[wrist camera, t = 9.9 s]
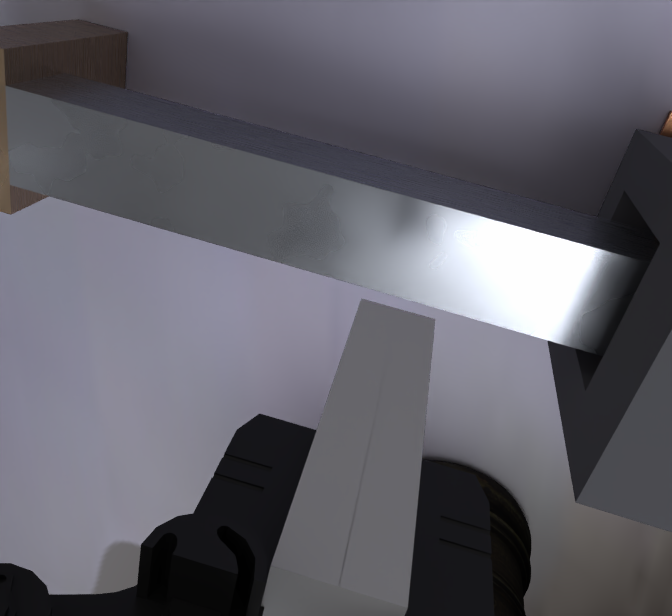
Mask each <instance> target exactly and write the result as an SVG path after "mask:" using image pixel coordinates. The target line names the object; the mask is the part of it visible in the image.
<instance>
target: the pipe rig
mask: <svg viewBox="0 0 672 616" xmlns="http://www.w3.org/2000/svg"><path fill="white" fill-rule="evenodd" d="M127 35H128V32H124V31H120V30H117V29H113V28H109V27H105V26H101V25H98V24H94V23H90V22H86V21H82V20H79V19H78V20H66V21H55V22H43V23H32V24H20V25H8V26H0V212H4V213H7V214H13V213H15V212H18V211H20V210H22V209H24V208H26V207H28V206H30V205H32V204H34V203H36V202H38V201H40V200H42V199H44V198H46V197H48V196H50V197H54V198H57V199H61V200H64V201H68V202H71V203H74V204H78V205H81V206H85V207H88V208H92V209H95V210H99V211H102V212H106V213H109V214H112V215H116V216H119V217H123V218H126V219H130V220H133V221H137V222H140V223H144V224H147V225H151V226H154V227H157V228H161V229H164V230H168V231H171V232H175V233H178V234H182V235H185V236H189V237H192V238H196V239H199V240H202V241H206V242H209V243H213V244H216V245H220V246H223V247H227V248H230V249H234V250H237V251H241V252H244V253H247V254H251V255H254V256H258V257H261V258H265V259H268V260H272V261H275V262H279V263H282V264H285V265H289V266H292V267H296V268H299V269H303V270H306V271H310V272H313V273H317V274H320V275H324V276H327V277H330V278H334V279H337V280H341V281H344V282H348V283H351V284H355V285H358V286H362V287H365V288H369V289H372V290H375V291H379V292H382V293H386V294H389V295H393V296H396V297H400V298H403V299H407V300H410V301H413V302H417V303H420V304H424V305H427V306H431V307H434V308H438V309H441V310H445V311H448V312H452V313H455V314H458V315H462V316H465V317H469V318H472V319H476V320H479V321H483V322H486V323H490V324H493V325H497V326H500V327H503V328H507V329H510V330H514V331H517V332H521V333H524V334H528V335H531V336H535V337H538V338H542V339H545V340H548V341H552V342H555V343H559V344H562V345H566V346H569V347H573V348H576V349H580V350H583V351H586V352H590V353H593V354H597V355H600V356H604V354H605V352H606V350H607V348H608V346H609V344H610V342H611V340H612V338H613V336H614V334H615V332H616V330H617V328H618V326H619V324H620V322H621V320H622V318H623V316H624V314H625V312H626V310H627V308H628V306H629V304H630V302H631V300H632V298H633V296H634V294H635V292H636V290H637V288H638V286H639V284H640V282H641V280H642V278H643V276H644V274H645V272H646V270H647V268H648V266H649V265H650V263H651V261H652V259H653V257H654V255H655V253H656V251H657V249H658V247H659V245H660V242H659V241H658V239H657V238H656V236H655V235H654V234H653V232H651V231H648V230H644V229H640V228H637V227H633V226H629V225H626V224H622V223H618V222H614V221H611V220H607V219H603V218H600V217H596V216H592V215H589V214H585V213H581V212H578V211H574V210H570V209H566V208H563V207H559V206H555V205H552V204H548V203H544V202H541V201H537V200H533V199H530V198H526V197H522V196H518V195H515V194H511V193H507V192H504V191H500V190H496V189H493V188H489V187H485V186H482V185H478V184H474V183H470V182H467V181H463V180H459V179H456V178H452V177H448V176H445V175H441V174H437V173H434V172H430V171H426V170H422V169H419V168H415V167H411V166H408V165H404V164H400V163H397V162H393V161H389V160H386V159H382V158H378V157H375V156H371V155H367V154H363V153H360V152H356V151H352V150H349V149H345V148H341V147H338V146H334V145H330V144H327V143H323V142H319V141H315V140H312V139H308V138H304V137H301V136H297V135H293V134H290V133H286V132H282V131H279V130H275V129H271V128H267V127H264V126H260V125H256V124H253V123H249V122H245V121H242V120H238V119H234V118H231V117H227V116H223V115H219V114H216V113H212V112H208V111H205V110H201V109H197V108H194V107H190V106H186V105H183V104H179V103H175V102H171V101H168V100H164V99H160V98H157V97H153V96H149V95H146V94H142V93H138V92H135V91H131V90H127V89H125V79H126V57H127ZM659 135H663V136H667V137H670V138H672V111H670V112H669V114H668V117H667V119H666V121H665V123H664V125H663V127H662V130H661V132H660V134H659Z"/></svg>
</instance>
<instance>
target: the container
mask: <svg viewBox="0 0 672 616" xmlns="http://www.w3.org/2000/svg"><path fill="white" fill-rule="evenodd" d="M430 462H433V463H437V464H440V465H443V466H447V467H450V468H454V469H457V470H460V471H464V472H467V473H471V474H474V475H476V477H477V479H478V481H479V483H480V485H481V487H482V489H483V491H484V493H485V495H486V497H487V499H488V501H489V506H490V529H491V530H490V535H489V536H491V552H492V554H491V560H492V575H493V598H494V616H526V614H525V611H524V599H523V597H524V595H525V593H526V591H527V589H528V587H529V584H530V578H531V565H530V555H531V535H530V530H529V527H528V524H527V521H526V519H525V517H524V515H523V513H522V511H521V509H520V507H519V506H518V504H517V503H516V501H515V500H514V499H513V497H512V496H511V495H510V494H509V493H508V492H507V491H506V490H505V489H504V488H503V487H501V486H500V485H499V484H498V483H496V482H495V481H494V480H492V479H490V478H489V477H487V476H485V475H483V474H481V473H479V472H477V471H474V470H472V469H469V468H467V467H464V466H461V465H457V464H452V463H447V462H441V461H430Z"/></svg>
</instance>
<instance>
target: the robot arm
mask: <svg viewBox="0 0 672 616" xmlns="http://www.w3.org/2000/svg"><path fill="white" fill-rule="evenodd" d="M434 327H435V319H433V318H429V317H425V316H422V315H418V314H415V313H411V312H408V311H404V310H400V309H397V308H393V307H390V306H386V305H383V304H379V303H375V302H372V301H368V300H365V299H361V301H360V304H359V307H358V310H357V313H356V316H355V319H354V322H353V325H352V328H351V331H350V334H349V337H348V340H347V342H346V345H345V348H344V351H343V354H342V357H341V360H340V363H339V366H338V369H337V372H336V375H335V378H334V381H333V384H332V387H331V390H330V393H329V395H328V398H327V401H326V404H325V407H324V410H323V413H322V416H321V419H320V422H319V425H318V428H317V430H314V429H310V428H307V427H303V426H300V425H297V424H293V423H290V422H286V421H283V420H280V419H276V418H273V417H269V416H266V415H263V414H258V415H257V416H256V417H254V418H253V419H251V420H250V421H249V422H247V423H246V424H244V425H243V426H242V427H240V428H239V429H237V431H236V433H235V434H234V436H233V438H232V440H231V442H230V444H229V446H228V448H227V450H226V452H225V454H224V457H223V458H222V459H221V461H220V463H219V465H218V467H217V469H216V471H215V473H214V476H213V478H212V479H211V481H210V482H209V484H208V486H207V488H206V490H205V492H204V494H203V496H202V498H201V500H200V502H199V504H198V505H197V507H196V509H195V511H194V513H193V514H188V515H182V516H177V517H175V518H173V519H171V520H169V521H167V522H166V523H164V524H162V525H160V526H158V527H156V528H155V529H154V531H153V532H152V533H151V534H150V535H149V536H148V537H147V538H146V540H145V541H144V542H143V543H142V544H141V552H140V562H139V573H138V584H137V585H136V586H134V587H131V588H128V589H125V590H122V591H119V592H114V593H104V594H77V595H49V594H48V590H47V586H46V585H45V584H44V583H43V582H42V581H41V580H40V579H39V578H38V577H37V576H36V575H35V574H34V573H33V572H32V571H30V570H27V569H25V568H22V567H19V566H16V565H14V564H11V563H0V616H494V598H493V575H492V560H491V554H492V552H491V536H489V535H490V530H491V529H490V506H489V501H488V499H487V497H486V495H485V493H484V491H483V489H482V487H481V485H480V483H479V481H478V479H477V477H476V475H474V474H471V473H467V472H464V471H460V470H457V469H454V468H450V467H447V466H443V465H440V464H437V463H433V462H430V461H426V460H423V459H422V453H423V443H424V432H425V422H426V411H427V401H428V390H429V380H430V369H431V359H432V348H433V338H434Z"/></svg>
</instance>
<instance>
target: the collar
mask: <svg viewBox="0 0 672 616" xmlns="http://www.w3.org/2000/svg"><path fill="white" fill-rule="evenodd" d="M597 217H600V218H603V219H607V220H611V221H614V222H618V223H622V224H626V225H629V226H633V227H637V228H640V229H644V230H648V231H651V232H653V234H654V235H655V236H656V238H657V239H658V241H659V242H660V245H659V247H658V249H657V251H656V253H655V255H654V257H653V259H652V261H651V263H650V265H649V266H648V268H647V270H646V272H645V274H644V276H643V278H642V280H641V282H640V284H639V286H638V288H637V290H636V292H635V294H634V296H633V298H632V300H631V302H630V304H629V306H628V308H627V310H626V312H625V314H624V316H623V318H622V320H621V322H620V324H619V326H618V328H617V330H616V332H615V334H614V336H613V338H612V340H611V342H610V344H609V346H608V348H607V350H606V352H605V354H604V356H600V355H597V354H593V353H590V352H586V351H583V350H580V349H576V348H573V347H569V346H566V345H562V344H559V343H555V342H552V341H548V346H549V352H550V358H551V363H552V369H553V375H554V381H555V387H556V392H557V398H558V404H559V410H560V415H561V421H562V427H563V433H564V438H565V444H566V450H567V456H568V462H569V467H570V473H571V479H572V485H573V490H574V496H575V502H576V503H579V504H582V505H586V506H589V507H592V508H595V509H598V510H602V511H605V512H608V513H611V514H615V515H618V516H621V517H624V518H628V519H631V520H634V521H637V522H640V523H644V524H647V525H650V526H653V527H657V528H660V529H663V530H666V531H670V532H672V138H670V137H667V136H663V135H659V134H655V133H651V132H647V131H643V130H639V129H636V130H635V133H634V135H633V137H632V140H631V142H630V144H629V146H628V149H627V151H626V153H625V155H624V158H623V160H622V162H621V164H620V167H619V169H618V171H617V173H616V176H615V178H614V180H613V182H612V185H611V187H610V189H609V192H608V194H607V196H606V198H605V201H604V203H603V205H602V207H601V210H600V212H599V214H598V216H597Z"/></svg>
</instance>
